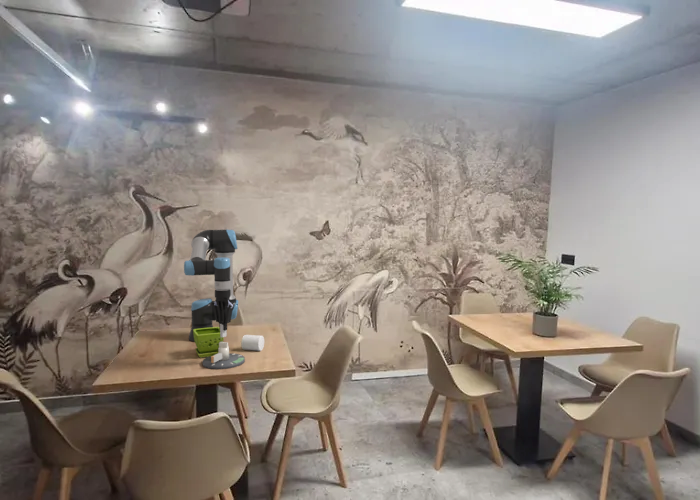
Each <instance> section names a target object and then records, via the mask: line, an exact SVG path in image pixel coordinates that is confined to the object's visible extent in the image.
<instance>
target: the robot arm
mask: <svg viewBox="0 0 700 500" xmlns="http://www.w3.org/2000/svg"><path fill="white" fill-rule="evenodd" d="M191 248H192V249H191V253H190V256H189V257H190V258H189V260H184V263H183V272H184V275H185V276H214V277H213V278H214V281H213V282H214V298H215V300H213V299H212V298H208V297H207V298H202V299H197V300H194V301H193V302H192V303H191V309H190V311H191V328H190V332H189V334H188V340H189V341H190V342H194V343H195V340H194V335H193V329H200V328H211V327H214V326H213V321H215V323H218V324H219V326H218V327H219V329H220V337H224V338H226V337H227V330H228V324H230V323H231V321H232V320H235V319H236V318H237V317H238V316H237V315H238V308H239V300H238V299H237V297H236V296H235V294H234V276H233V275H234V273H233V271H234V269H233V268H234V267H233V265H234V264H233V262H234V261H233V259H234V258H233V255H234V254H235V253H236V250H238V241H237V236H236V231H235V230H234V229H206V230H205V229H204V230H202V231H200V232H198V233H197V234H196V235H194V236H193V238H192V240H191ZM208 250H213V251H214V253H215V255H216V256H217V257H216V258H215V257H214V259H206V257H207V252H208ZM198 335H199V334H198Z"/></svg>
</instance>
